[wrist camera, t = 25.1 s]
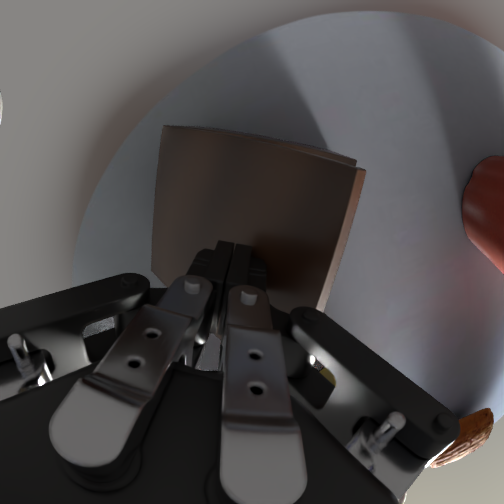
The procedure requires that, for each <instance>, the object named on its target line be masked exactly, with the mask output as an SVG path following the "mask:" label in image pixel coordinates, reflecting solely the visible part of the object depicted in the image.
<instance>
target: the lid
mask: <svg viewBox="0 0 504 504" xmlns="http://www.w3.org/2000/svg"><path fill="white" fill-rule="evenodd" d="M365 175H366V170H365V169H362V168H359V167H356V166H353V165H349V164H346V163H343V162H340V161H336V160H333V159H329V158H326V157H322V156H319V155H315V154H312V153H308V152H304V151H300V150H296V149H292V148H288V147H284V146H280V145H276V144H272V143H267V142H263V141H258V140H253V139H249V138H244V137H239V136H233V135H228V134H223V133H217V132H211V131H205V130H199V129H193V128H186V127H179V126H170V125H163V128H162V135H161V142H160V150H159V158H158V167H157V177H156V188H155V200H154V214H153V231H152V255H151V271H152V272H153V273H154V274H155V275H156V276H157V278H158V279H159V280H160V281H161V282H162V283H163V284H164V285H165V286H166V287H167V288H169V286H170V285H171V284H172V282H173V281H174V280H175V279H176V278H177V277H180V276H183V275H186V273H187V271H188V269H189V267H190V265H191V264H192V262H193V260H194V259H195V256H196V254H197V252H199V251H201V250H203V249H204V248H206V249H211V250H214V249H215V247H216V245H217V242H218V240H222V241H227V242H233V243H235V245H236V243H238V244H244V245H249V246H252V251H251V257H255V258H260V259H263V261H264V262H265V263H266V265H267V276H266V294H267V295H268V296H269V301H270V304H271V305H272V306H273V307H275V308H276V309H278V310H280V311H283V312H285V313H288V314H290V312H291V311H292V309H294V308H296V307H301V306H306V307H312V308H315V309H317V310H320V311H321V312H323V311H324V308H325V305H326V302H327V300H328V297H329V294H330V291H331V288H332V285H333V283H334V280H335V277H336V274H337V271H338V268H339V265H340V262H341V259H342V255H343V252H344V249H345V246H346V243H347V239H348V236H349V233H350V229H351V226H352V223H353V219H354V216H355V212H356V209H357V205H358V201H359V198H360V194H361V190H362V186H363V183H364V179H365ZM235 245H234V249H235ZM233 253H234V252H233ZM219 321H220V319H219ZM218 328H219V323H218V327H217V331H216V334H215V335H216V336H217V337H218V338H219V339H220V340H221V338H222V335H218Z"/></svg>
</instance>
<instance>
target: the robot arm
mask: <svg viewBox="0 0 504 504" xmlns="http://www.w3.org/2000/svg"><path fill="white" fill-rule="evenodd" d="M234 245H235V243H233V242H227V241H222V240H218V242H217V245H216V247H215V249H214V250H211V249H206V248H204V249H203V250H201V251H199V252H197V254H196V256H195V259H194V260H193V262H192V264H191V265H190V267H189V269H188V271H187V273H186V275H183V276H180V277H177V278H176V279H175V280H174V281H173V282H172V284H171V285H170V286H169V288H150V281H149V280H148V279H147V278H146V277H145V276H143V275H140V274H137V273H124V274H119V275H116V276H112V277H109V278H105V279H102V280H98V281H94V282H91V283H87V284H84V285H80V286H77V287H73V288H70V289H66V290H63V291H59V292H56V293H53V294H49V295H45V296H42V297H38V298H35V299H32V300H28V301H25V302H21V303H18V304H15V305H11V306H8V307H5V308H1V309H0V504H400V502H399V499H400V498H401V497H402V496H403V495H404V493H405V492H406V491H407V490H408V489H409V487H410V486H411V485H412V484H413V482H414V481H415V480H416V478H417V477H418V476H419V474H420V473H421V472H422V470H423V469H424V468H425V466H427V465H428V464H429V463H430V462H432V461H433V460H434V459H435V458H436V457H437V456H439V455H440V454H441V453H442V452H443V451H444V450H445V449H447V448H448V447H449V446H450V445H451V444H452V443H453V442H454V441H455V440H456V439H457V438H458V437H459V435H460V430H461V429H460V423H459V420H458V418H457V417H456V415H455V414H454V413H453V412H452V411H451V410H449V409H448V408H447V407H445V406H444V405H443V404H441V403H440V402H439V401H437V400H436V399H435V398H434V397H432V396H431V395H430V394H428V393H427V392H426V391H424V390H423V389H422V388H420V387H419V386H418V385H417V384H415V383H414V382H413V381H411V380H410V379H409V378H407V377H406V376H405V375H404V374H402V373H401V372H400V371H398V370H397V369H396V368H394V367H393V366H392V365H390V364H389V363H388V362H387V361H385V360H384V359H383V358H381V357H380V356H379V355H377V354H376V353H375V352H374V351H372V350H371V349H370V348H368V347H367V346H366V345H364V344H363V343H362V342H361V341H359V340H358V339H357V338H355V337H354V336H353V335H351V334H350V333H349V332H348V331H346V330H345V329H344V328H342V327H341V326H340V325H339V324H337V323H336V322H335V321H333V320H332V319H331V318H329V317H328V316H327V315H326V314H324V313H323V312H321V311H320V310H317V309H315V308H312V307H306V306H301V307H296V308H294V309H292V311H291V312H290V314H288V313H285V312H283V311H280V310H278V309H276V308H275V307H273V306H272V305H271V304H270V301H269V296H268V295H267V294H266V276H267V265H266V263H265V262H264V261H263V259H260V258H255V257H251V251H252V246H249V245H244V244H238V243H236V245H235V249H234ZM233 252H234V253H233ZM112 316H114V323H115V327H114V328H111V329H109V330H106V331H103V332H100V333H98V334H95V335H92V336H89V337H86V338H84V339H83V331H84V329H85V327H86V326H88V325H89V324H92V323H95V322H98V321H100V320H103V319H106V318H109V317H112ZM219 319H220V321H219ZM218 323H219V328H218V335H222V338H221V344H220V350H219V360H218V371H201V370H197V368H198V366H199V363H200V361H201V358H202V356H203V353H204V350H205V347H206V341H207V340H208V337H209V334H210V333H212V334H216V331H217V327H218ZM315 360H317V361H319V362H320V363H321V364H322V365H323V366H324V367H325V368H326V369H328V370H329V371H330V372H331V373H332V374H333V375H334V377H335V380H336V387H335V386H334V385H333V384H332V383H331V382H330V381H329V380H328V379H326V378H325V377H324V376H323V375H322V374H321V373H320V372H319V371H318V370H317V369H315V368H314V367H313V365H314V363H315Z"/></svg>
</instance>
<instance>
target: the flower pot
mask: <svg viewBox="0 0 504 504" xmlns="http://www.w3.org/2000/svg"><path fill="white" fill-rule="evenodd" d="M462 218H463V224H464V228H465V231H466V234H467V236H468V238H469V239H470V241H471V242H472V243H473V244H474V245H475V246H476V247H477V248H478V249H479V250H480V251H482V252H483V253H484V254H485V255H486V256H487V257H488V258H489V259H490V260H491V261H492V262H493V264H494V265H495V266H496V267H497V268H498V269H499V270H500V271H501V272H502V273H503V274H504V156H491V157H488V158H486V159H484V160H483V161H481V162H480V163H479V164H478V165H477V166H476V168H475V169H474V170H473V175H472V178H471V180H470V182H469V183H468V185H467V186H466V187H465V191H464V196H463V203H462Z"/></svg>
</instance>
